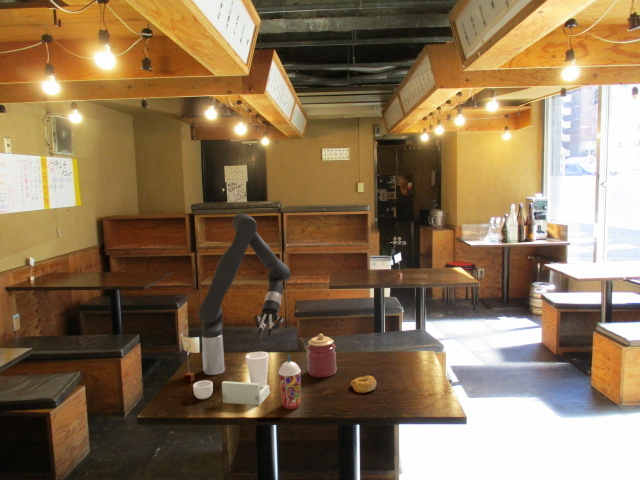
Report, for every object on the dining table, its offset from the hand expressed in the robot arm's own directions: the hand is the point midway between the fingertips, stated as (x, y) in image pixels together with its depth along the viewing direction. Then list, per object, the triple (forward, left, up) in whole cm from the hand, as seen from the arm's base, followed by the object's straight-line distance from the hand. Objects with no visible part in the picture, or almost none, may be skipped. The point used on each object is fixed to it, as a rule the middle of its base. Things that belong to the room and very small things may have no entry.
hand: (264, 337), depth 213 cm
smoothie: (+30, -13, -18) cm, 38 cm away
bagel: (+41, +17, -18) cm, 48 cm away
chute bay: (+11, -19, -18) cm, 28 cm away
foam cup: (+4, -8, -18) cm, 20 cm away
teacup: (-5, -29, -18) cm, 34 cm away
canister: (+15, +19, -18) cm, 31 cm away
